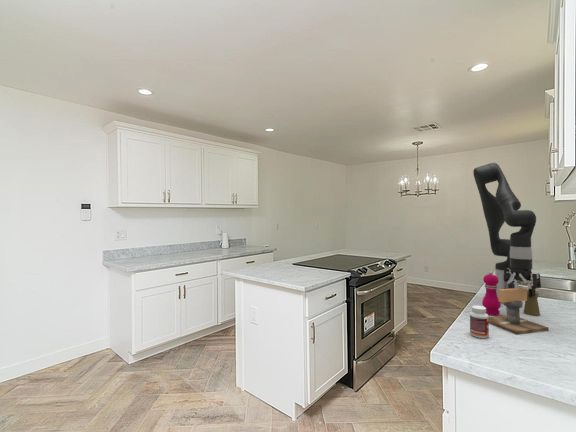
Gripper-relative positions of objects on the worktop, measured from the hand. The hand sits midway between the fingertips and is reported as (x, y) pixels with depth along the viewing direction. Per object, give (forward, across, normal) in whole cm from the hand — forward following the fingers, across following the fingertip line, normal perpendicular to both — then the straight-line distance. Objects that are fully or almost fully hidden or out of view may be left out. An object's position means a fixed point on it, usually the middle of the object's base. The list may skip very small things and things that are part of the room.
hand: (521, 295), depth 126 cm
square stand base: (+12, 0, -4) cm, 13 cm away
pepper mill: (+13, -14, 0) cm, 19 cm away
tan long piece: (+4, 0, -5) cm, 6 cm away
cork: (+13, -9, +16) cm, 23 cm away
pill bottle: (+13, +5, -26) cm, 30 cm away
